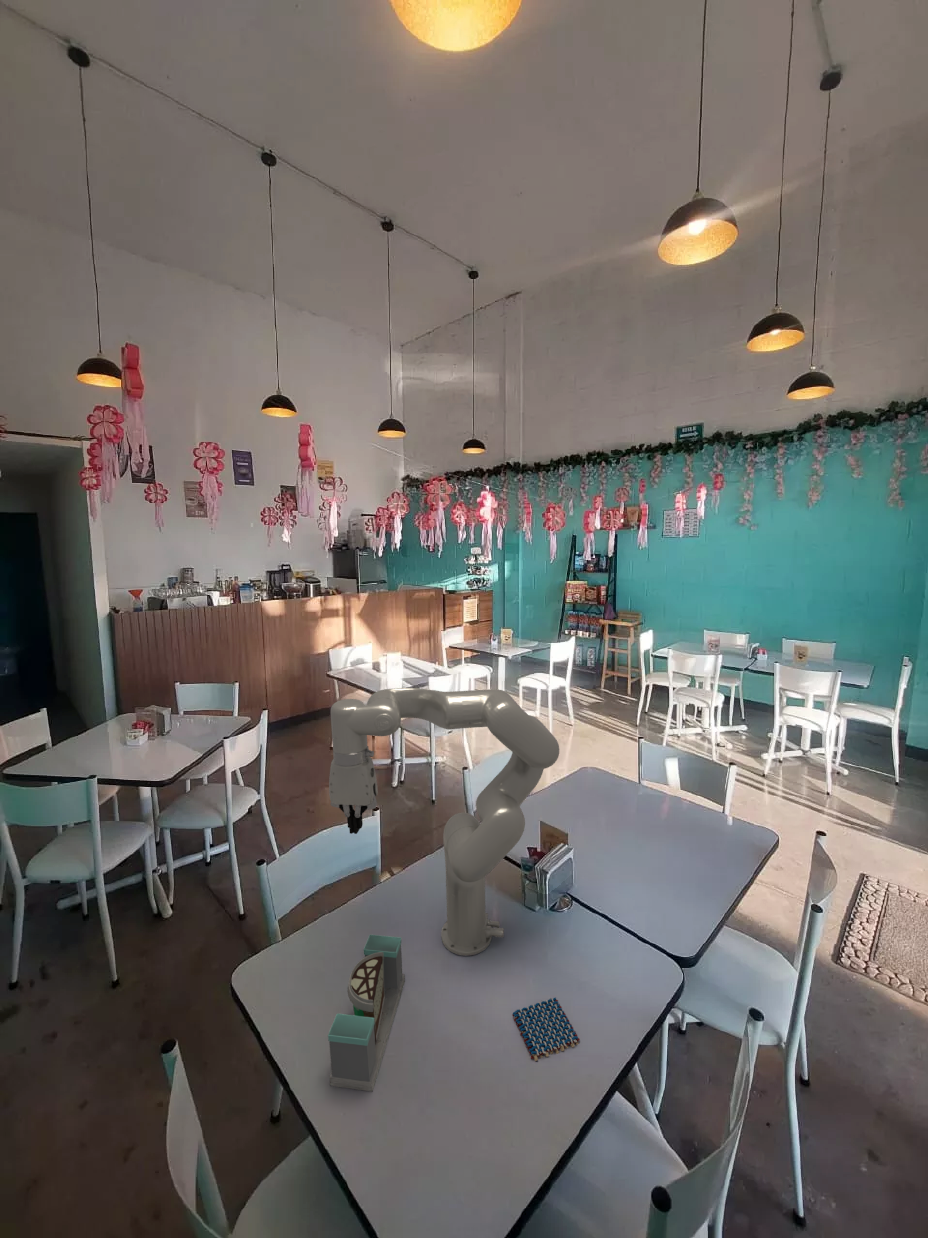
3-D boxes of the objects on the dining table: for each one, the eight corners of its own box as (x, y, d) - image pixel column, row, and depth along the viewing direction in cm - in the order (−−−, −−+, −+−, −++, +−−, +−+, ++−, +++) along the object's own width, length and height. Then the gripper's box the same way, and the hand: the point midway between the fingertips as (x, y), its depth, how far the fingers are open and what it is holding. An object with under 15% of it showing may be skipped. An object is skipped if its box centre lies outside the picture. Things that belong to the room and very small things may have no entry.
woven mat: (582, 1047, 99) (582, 1038, 99) (532, 1066, 96) (532, 1056, 96) (556, 1001, 109) (556, 993, 109) (510, 1016, 106) (510, 1008, 105)
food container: (357, 991, 110) (354, 950, 108) (385, 990, 109) (383, 950, 108) (343, 1048, 97) (339, 1003, 96) (375, 1048, 97) (372, 1003, 96)
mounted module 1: (376, 1059, 95) (374, 1018, 94) (369, 1082, 91) (366, 1040, 90) (340, 1054, 96) (337, 1013, 95) (331, 1077, 92) (328, 1035, 91)
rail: (404, 981, 114) (404, 973, 114) (372, 1091, 91) (371, 1082, 91) (370, 977, 115) (370, 970, 115) (330, 1086, 93) (329, 1076, 92)
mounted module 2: (402, 973, 114) (401, 937, 112) (397, 989, 110) (396, 953, 108) (371, 970, 115) (369, 934, 113) (365, 986, 111) (363, 949, 109)
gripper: (388, 749, 116) (391, 823, 119) (325, 746, 118) (330, 819, 121) (378, 764, 109) (382, 842, 112) (311, 761, 111) (317, 838, 114)
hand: (355, 830), depth 117 cm, fingers closed
